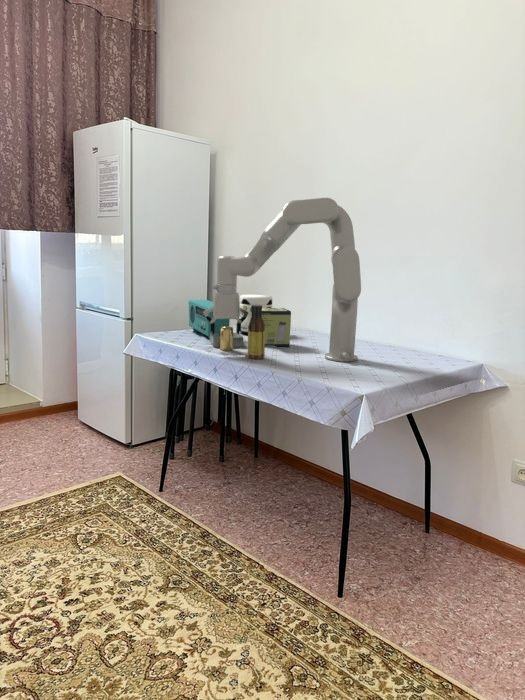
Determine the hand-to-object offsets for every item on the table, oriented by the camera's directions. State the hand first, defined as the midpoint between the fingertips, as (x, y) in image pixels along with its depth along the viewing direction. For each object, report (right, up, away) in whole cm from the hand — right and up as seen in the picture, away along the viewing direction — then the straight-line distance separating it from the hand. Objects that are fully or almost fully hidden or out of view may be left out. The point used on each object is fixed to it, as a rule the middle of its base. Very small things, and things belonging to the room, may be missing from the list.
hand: (225, 333), depth 207 cm
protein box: (+17, -5, +20) cm, 27 cm away
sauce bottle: (+12, -10, -7) cm, 17 cm away
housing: (-1, -5, +12) cm, 13 cm away
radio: (-11, 0, +37) cm, 39 cm away
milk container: (+11, +1, +50) cm, 51 cm away
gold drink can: (0, -7, +1) cm, 8 cm away
